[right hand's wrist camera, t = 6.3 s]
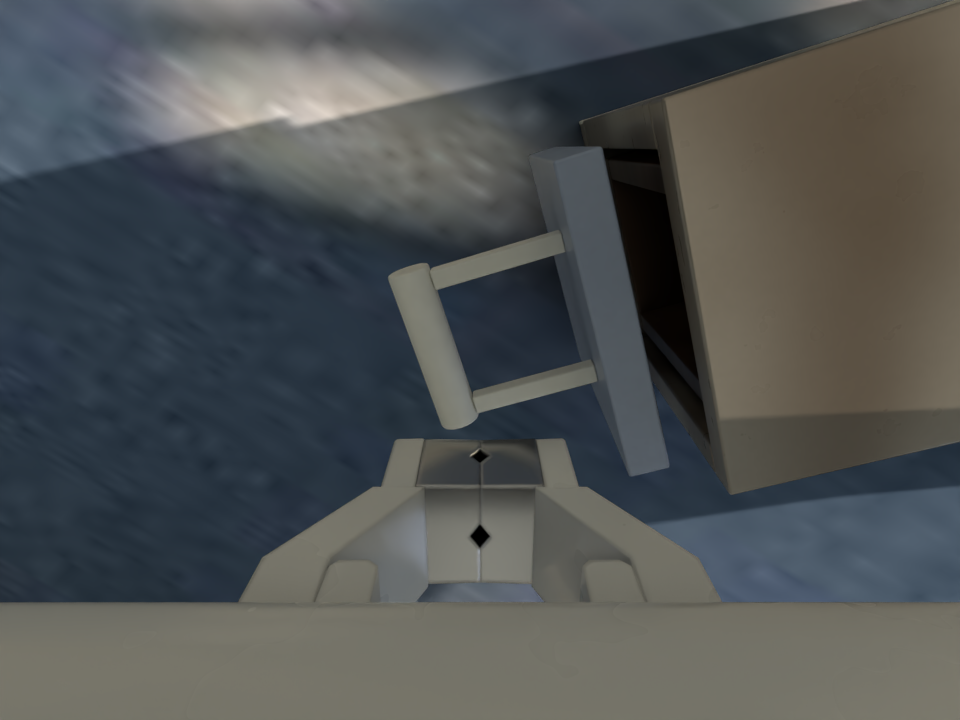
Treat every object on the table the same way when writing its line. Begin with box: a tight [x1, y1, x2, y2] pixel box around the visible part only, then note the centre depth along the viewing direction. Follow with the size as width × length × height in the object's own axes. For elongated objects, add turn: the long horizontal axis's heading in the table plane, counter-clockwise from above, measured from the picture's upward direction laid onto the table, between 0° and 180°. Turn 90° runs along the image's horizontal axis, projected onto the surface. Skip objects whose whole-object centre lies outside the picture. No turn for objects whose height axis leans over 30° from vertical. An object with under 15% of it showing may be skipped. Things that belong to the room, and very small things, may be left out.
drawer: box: [388, 147, 703, 476], centre depth 18 cm, size 26×9×10 cm, turn 107°
